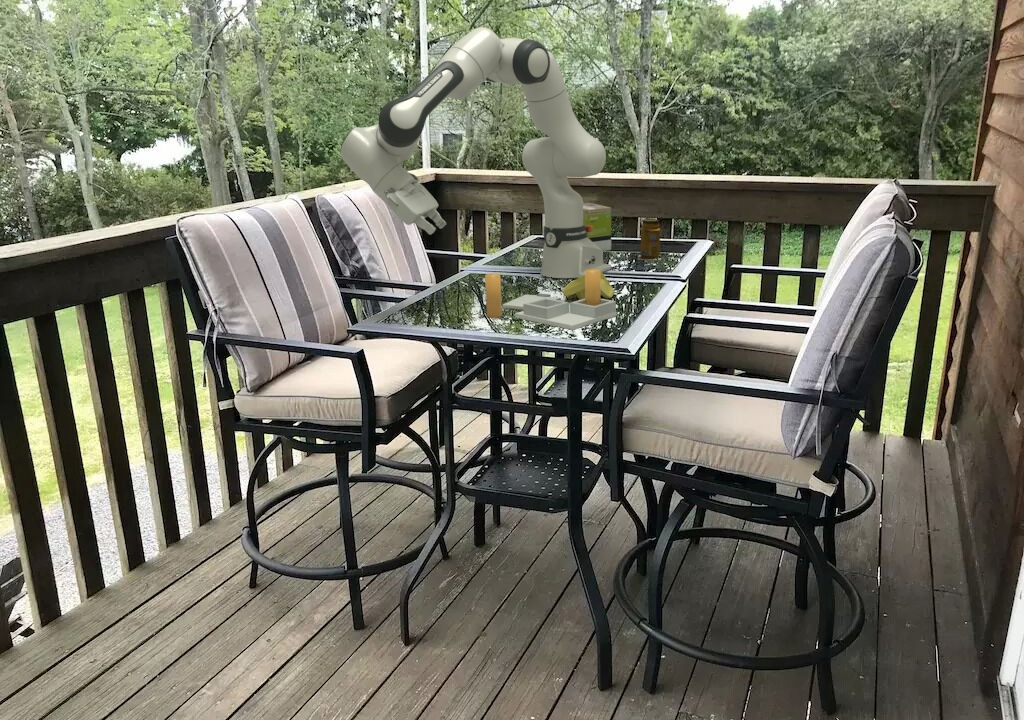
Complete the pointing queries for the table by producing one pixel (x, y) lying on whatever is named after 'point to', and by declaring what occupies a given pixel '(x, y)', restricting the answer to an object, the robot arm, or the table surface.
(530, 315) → the housing
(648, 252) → the condiment
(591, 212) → the tea box
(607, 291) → the plastic component
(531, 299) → the lid
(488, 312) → the pin
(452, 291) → the table surface
